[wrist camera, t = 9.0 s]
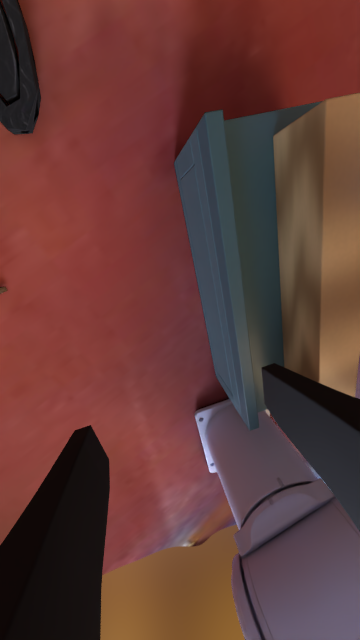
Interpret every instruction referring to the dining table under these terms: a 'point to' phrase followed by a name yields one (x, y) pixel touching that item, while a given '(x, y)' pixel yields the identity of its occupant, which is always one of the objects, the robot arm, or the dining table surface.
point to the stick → (320, 241)
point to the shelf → (237, 245)
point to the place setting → (3, 289)
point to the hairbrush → (17, 72)
